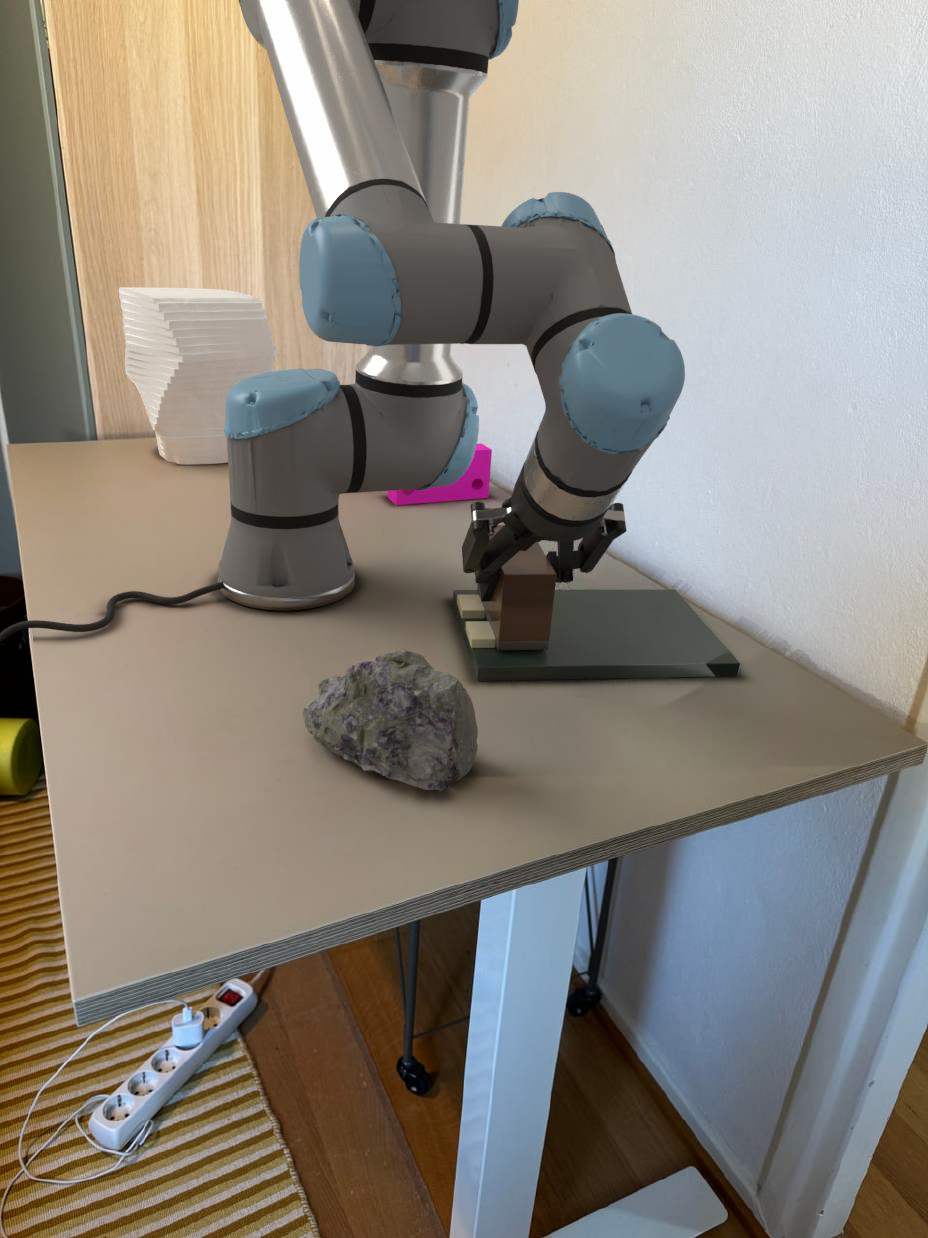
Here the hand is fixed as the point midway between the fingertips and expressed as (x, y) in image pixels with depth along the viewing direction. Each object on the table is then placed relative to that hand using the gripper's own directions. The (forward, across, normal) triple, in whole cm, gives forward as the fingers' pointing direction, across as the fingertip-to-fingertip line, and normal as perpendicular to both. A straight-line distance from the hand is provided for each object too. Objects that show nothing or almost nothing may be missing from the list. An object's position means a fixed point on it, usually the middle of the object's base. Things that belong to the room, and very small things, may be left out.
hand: (511, 588), depth 89 cm
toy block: (+37, +2, -30) cm, 48 cm away
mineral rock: (-12, +14, +19) cm, 26 cm away
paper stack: (+52, +36, -44) cm, 77 cm away
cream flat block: (0, +4, +5) cm, 7 cm away
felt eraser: (+2, 0, +3) cm, 3 cm away
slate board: (+3, -8, +4) cm, 10 cm away
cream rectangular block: (+4, +4, +1) cm, 6 cm away
